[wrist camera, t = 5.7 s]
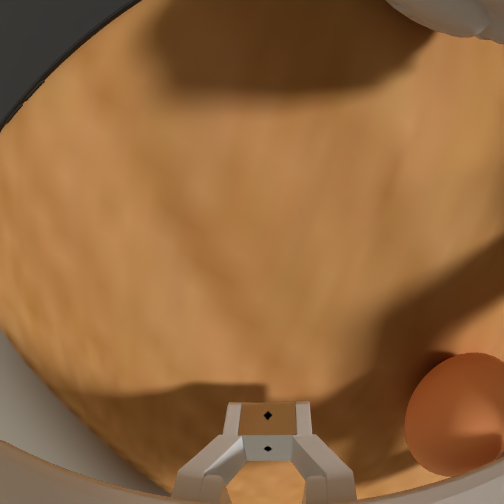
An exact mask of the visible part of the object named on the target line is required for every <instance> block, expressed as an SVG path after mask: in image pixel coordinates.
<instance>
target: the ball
mask: <svg viewBox="0 0 504 504" xmlns="http://www.w3.org/2000/svg"><path fill="white" fill-rule="evenodd" d="M404 428H405V437H406V442H407V445H408V448H409V450H410V452H411V454H412V456H413V457H414V458H415V459H416V461H417V462H418V463H419V464H420V465H421V466H422V467H424V468H425V469H427V470H428V471H430V472H433V473H435V474H438V475H442V476H449V477H454V476H457V475H459V474H462V473H465V472H468V471H470V470H473V469H475V468H478V467H481V466H483V465H485V464H488V463H490V462H492V461H495V460H496V459H497V458H498V457H499V456H500V455H501V454H502V453H503V452H504V362H503V361H501V360H500V359H498V358H496V357H494V356H491V355H488V354H484V353H465V354H460V355H457V356H454V357H451V358H449V359H447V360H445V361H443V362H442V363H440V364H438V365H437V366H436V367H434V368H433V369H432V370H431V371H430V372H429V373H427V374H426V376H425V377H424V378H423V379H422V380H421V381H420V383H419V384H418V386H417V387H416V389H415V391H414V392H413V394H412V396H411V398H410V401H409V404H408V406H407V410H406V415H405V423H404Z"/></svg>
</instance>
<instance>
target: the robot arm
mask: <svg viewBox="0 0 504 504" xmlns="http://www.w3.org/2000/svg"><path fill="white" fill-rule="evenodd" d="M246 461H291V462H292V463H293V465H294V466H295V467H296V469H297V470H298V471H299V473H300V474H301V475H302V477H303V478H304V479H305V487H304V494H303V500H302V504H504V457H501V458H499V459H497V460H495V461H492V462H490V463H488V464H485V465H483V466H481V467H478V468H475V469H473V470H470V471H468V472H465V473H462V474H459V475H457V476H454V477H451V478H448V479H445V480H441V481H438V482H435V483H431V484H428V485H424V486H421V487H417V488H413V489H409V490H405V491H401V492H396V493H392V494H387V495H382V496H377V497H371V498H365V499H359V500H357V497H356V489H355V482H354V475H353V471H352V470H351V469H350V468H349V467H348V466H347V465H346V464H345V463H344V462H343V461H342V460H341V459H340V458H339V457H338V456H337V455H336V454H335V453H334V452H333V451H332V450H331V449H330V448H329V447H328V446H327V445H326V444H325V443H324V442H323V441H322V440H321V439H320V438H319V437H318V436H317V435H316V434H312V427H311V414H310V403H309V401H296V402H295V401H292V402H269V403H253V402H229V403H228V406H227V411H226V417H225V423H224V428H223V434H222V435H218V436H217V437H215V438H214V439H213V440H212V441H211V442H210V443H209V444H208V445H207V446H206V447H204V448H203V449H202V450H201V451H200V452H199V453H198V454H197V455H195V456H194V457H193V458H192V459H191V460H190V461H189V462H187V463H186V464H185V465H184V466H183V467H182V468H180V469H179V470H178V473H177V477H176V481H175V484H174V488H173V492H172V495H171V498H170V497H165V496H159V495H155V494H150V493H145V492H141V491H136V490H132V489H128V488H124V487H120V486H117V485H113V484H109V483H105V482H103V481H99V480H96V479H93V478H90V477H87V476H84V475H81V474H78V473H75V472H72V471H70V470H67V469H64V468H62V467H59V466H57V465H54V464H52V463H49V462H47V461H45V460H42V459H40V458H38V457H35V456H33V455H31V454H29V453H27V452H25V451H23V450H20V449H18V448H16V447H14V446H13V445H11V444H9V443H7V442H5V441H1V440H0V504H232V502H231V500H230V497H229V494H228V491H227V488H226V486H227V484H228V483H229V482H230V481H231V480H232V479H233V477H234V476H235V475H236V474H237V473H238V472H239V470H240V469H241V468H242V467H243V466H244V464H245V463H246Z"/></svg>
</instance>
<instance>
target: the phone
mask: <svg viewBox="0 0 504 504" xmlns="http://www.w3.org/2000/svg"><path fill="white" fill-rule="evenodd" d="M140 1H141V0H0V130H2V128H3V127H4V126H5V125H6V123H8V122H9V121H10V120H11V119H12V118H13V116H14V115H15V114H16V113H17V112H18V110H19V109H20V108H21V107H22V106H23V105H22V104H23V103H24V102H25V101H26V100H28V99H29V98H30V97H31V96H32V94H33V93H34V92H35V91H36V90H37V89H38V88H39V87H40V86H41V85H42V84H43V83H44V82H45V81H44V80H45V79H46V78H47V77H48V76H49V75H50V74H51V73H52V72H53V71H54V70H55V69H56V68H57V67H58V66H59V65H60V64H61V63H62V62H64V61H65V60H66V59H67V58H68V57H69V56H70V55H71V54H72V53H73V52H75V51H76V50H77V49H78V48H79V47H80V46H81V45H83V44H84V43H85V42H86V41H87V40H89V39H90V38H91V37H92V36H93V35H95V34H96V33H97V32H98V31H100V30H101V29H102V28H103V27H105V26H106V25H107V24H109V23H110V22H111V21H113V20H114V19H115V18H117V17H118V16H120V15H121V14H122V13H124V12H125V11H127V10H128V9H129V8H131V7H132V6H134V5H135V4H137V3H138V2H140ZM0 132H1V131H0Z"/></svg>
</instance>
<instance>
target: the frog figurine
mask: <svg viewBox="0 0 504 504" xmlns="http://www.w3.org/2000/svg"><path fill="white" fill-rule="evenodd" d="M386 1H387V2H388V3H389V4H390V5H391V6H392V7H393V8H394V9H396V10H397V11H399V12H400V13H402V14H403V15H405V16H406V17H408V18H409V19H410V20H413V21H414V22H416V23H418V24H421V25H423V26H425V27H427V28H430V29H432V30H435V31H438V32H442V33H446V34H449V35H451V36H456V37H473V36H476V37H478V38H479V39H484V40H492V41H494V42H496V43H499V44H504V0H386Z"/></svg>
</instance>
